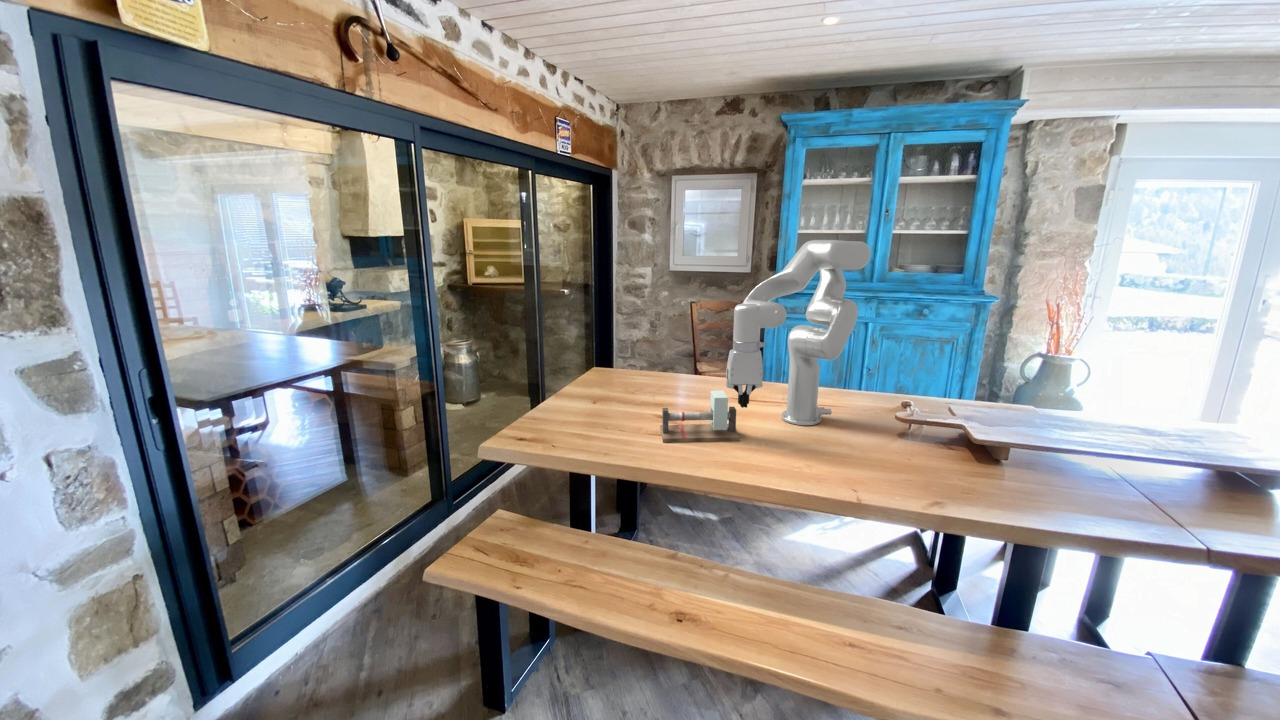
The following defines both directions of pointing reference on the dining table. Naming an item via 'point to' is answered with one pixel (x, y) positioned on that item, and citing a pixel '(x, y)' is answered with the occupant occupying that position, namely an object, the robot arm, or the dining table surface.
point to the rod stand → (697, 427)
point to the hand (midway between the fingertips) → (743, 406)
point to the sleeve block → (719, 410)
